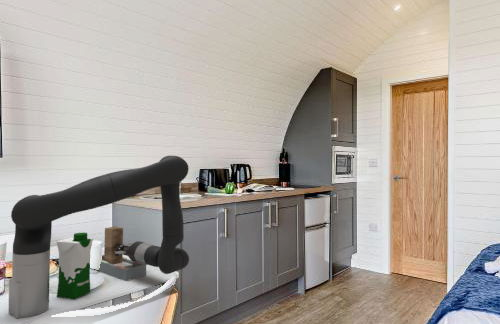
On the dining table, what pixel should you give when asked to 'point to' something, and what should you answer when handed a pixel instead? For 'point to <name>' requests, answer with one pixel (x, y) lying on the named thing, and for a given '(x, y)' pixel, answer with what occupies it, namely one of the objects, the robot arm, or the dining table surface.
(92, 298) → the dining table surface
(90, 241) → the milk carton
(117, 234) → the walnut block
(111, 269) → the tray
